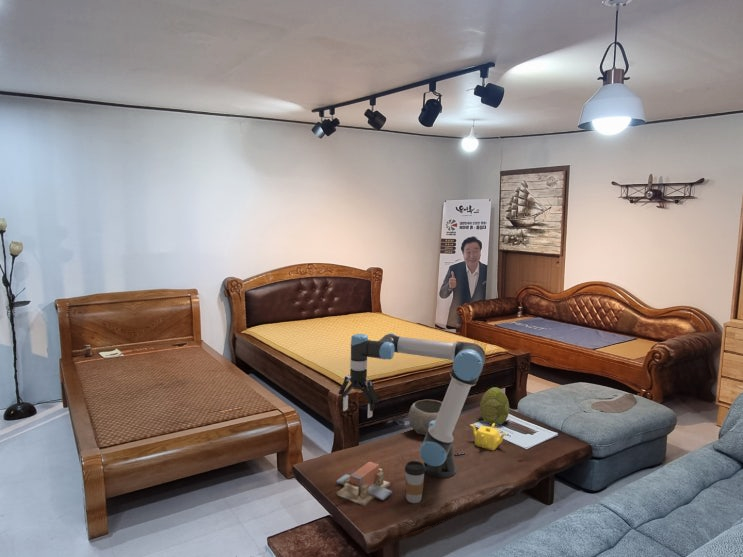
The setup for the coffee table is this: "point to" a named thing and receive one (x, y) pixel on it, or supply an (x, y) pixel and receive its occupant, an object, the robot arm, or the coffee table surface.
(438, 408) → the bowl
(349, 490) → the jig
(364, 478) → the reddish-brown block
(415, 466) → the coffee cup
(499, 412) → the decorative sculpture
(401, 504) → the coffee table surface
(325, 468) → the coffee table surface
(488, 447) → the teapot
